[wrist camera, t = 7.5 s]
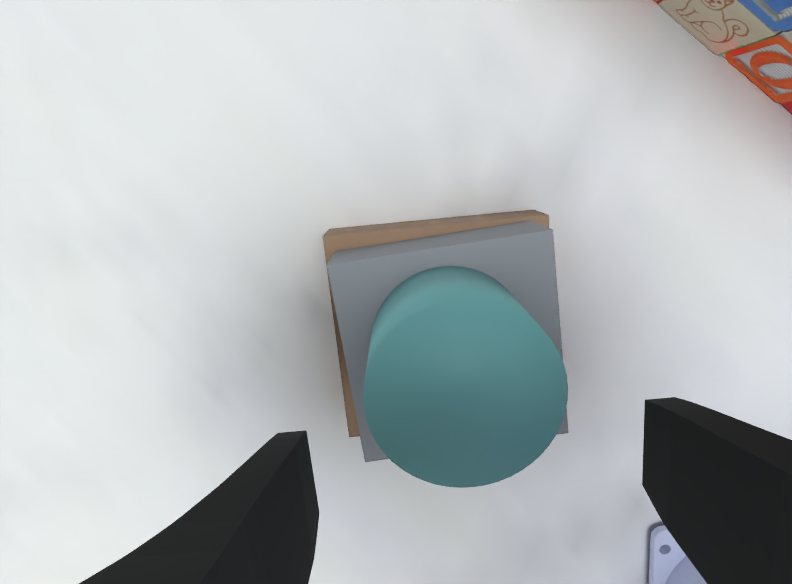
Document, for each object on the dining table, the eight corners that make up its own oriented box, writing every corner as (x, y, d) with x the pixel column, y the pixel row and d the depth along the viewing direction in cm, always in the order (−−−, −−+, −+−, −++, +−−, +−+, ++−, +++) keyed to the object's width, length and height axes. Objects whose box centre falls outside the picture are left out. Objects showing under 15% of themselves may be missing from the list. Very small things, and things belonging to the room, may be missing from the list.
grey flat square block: (546, 399, 19) (568, 432, 17) (368, 424, 20) (365, 461, 17) (530, 220, 18) (552, 229, 15) (335, 250, 18) (326, 264, 15)
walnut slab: (534, 390, 22) (551, 419, 20) (353, 406, 22) (349, 437, 20) (529, 208, 20) (548, 214, 18) (331, 227, 20) (322, 236, 18)
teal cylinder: (530, 404, 17) (570, 477, 13) (381, 420, 17) (376, 496, 13) (522, 257, 15) (563, 288, 12) (361, 275, 16) (349, 312, 12)
